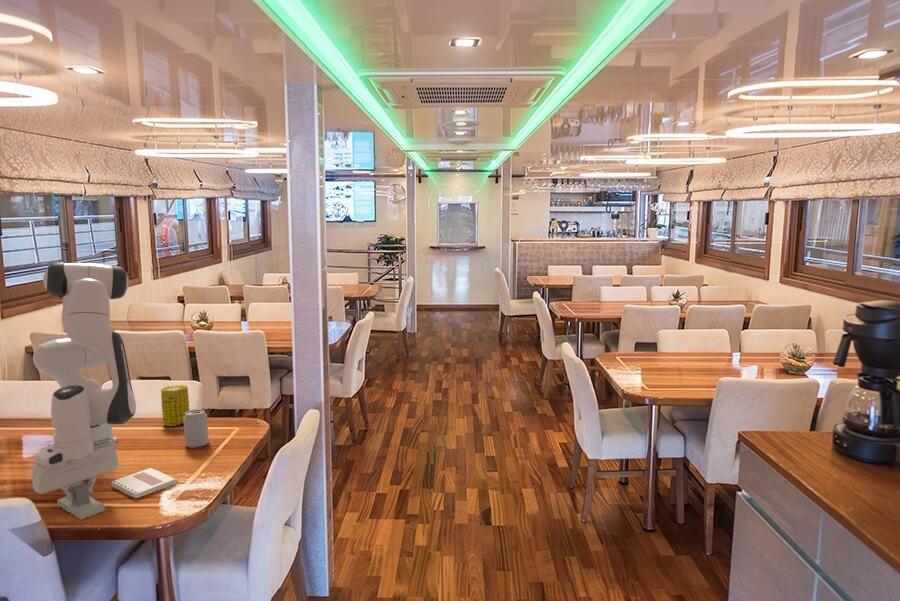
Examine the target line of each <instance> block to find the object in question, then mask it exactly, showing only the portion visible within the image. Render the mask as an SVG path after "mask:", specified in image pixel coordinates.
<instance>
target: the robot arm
mask: <svg viewBox="0 0 900 601" xmlns="http://www.w3.org/2000/svg"><path fill="white" fill-rule="evenodd" d="M42 278H43V279H42V282H43V283H42V284H43V286H44V289H45V291H46V293H47V294H48V295H49V296H51V297H53V298H57V299H60V300H62V311H61V322H62V325H63V326H64V330H65V334H66V336H67V337H64V338H57V339H51V340H48V341H46V342H43V343H40V344H38V345H37V346H36V347H35V349H34V350H33V355H32V361H33V364H34V366H35V367H36V369H37V370H38V371H39V372H41V373H42V374H44V375H47V376H49V377H51V378H52V379H53V380H54V381H55V382H56V383H57V384H58V386H59V387H60V388H58V389H57V390H55V391H54V392H53V393H52V396H51V404H50V410H51V411H50V412H51V414H50V415H51V425H52V427H53V430H54V434H52V435H53V441H52V442H50V443H49V445H48V446H46V447H45V448H43V449H42V450H40V451H37V452H36V453H35V454H34V456H33V459H34V461H35V464H34V466H33V468H32V474H31V478H32V479H31V480H32V489H33V491H34V492H36V493H37V494H39V495H45V494H47V493H50V492H53V491H56V490H59V489H60V490H61V491H62V492H64V494H65V497H66V498H67V500H68V501H71V500H73V499H75V493H74V492H72V491H71V492H70V486H69V485H71V484H74V483H77V482H80V481H82V482H84V481H85V480H88V482H87V484H88V488H89V495H90V494H93V493H94V490H93V488H94V485H95V483H96V481H97V476H100V475H103V474H105V473H109V472H112V471H115V470H118V469H117V468H118V467H119V464H120V463H119V459H118V455H117V450H116V448H117V443H116V442H117V441H118V437H117V436H114V434H113V429H112V425H124V424H126V423H127V422H128V421H130V420H131V419H132V418H133V417H134V416H135V414H136V412H137V411H136V409H137V402H136V398H135V394H134V390H133V386H132V383H131V382H132V380H131V376H130V370H129V364H128V358H127V352H126V349H125V344H124V340H123V338H122V336H121V334H120V333H119V332H116V331H115V330H114V329H113V326H112V324H111V318H110V317H111V308H110V306H111V305H110V304H111V303H110V300H117V299H121V298H123V297H124V296H125V295H126V293H127V291H128V288H129V284H130V282H129V281H130V280H129V275H128V274H127V271H126V270H125V268H124V267H122V266H117V265H107V264H103V263H102V264H101V263H94V262H93V263H92V262H85V263H84V262H67V263H66V262H65V263H64V262H63V261H61V262H59V261H58V262H52V263H50V264H49V265H48V266H47V268H46V270H45V271H44V273H43V277H42ZM106 364H109V370H110V377H111V382H112V387H111V388H109V389H108V388H107V389H102V385H101V383H100V382H99V381H98V380H96V379H94V378H91V377H88V376H83V375H82V373H81V371H82V370H84V369H87V368H88V369H89V368H93V367H98V366H103V365H106Z"/></svg>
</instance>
